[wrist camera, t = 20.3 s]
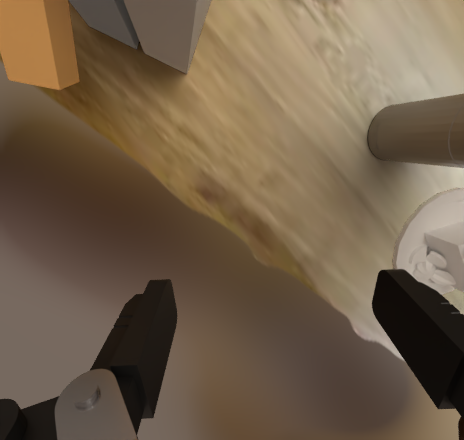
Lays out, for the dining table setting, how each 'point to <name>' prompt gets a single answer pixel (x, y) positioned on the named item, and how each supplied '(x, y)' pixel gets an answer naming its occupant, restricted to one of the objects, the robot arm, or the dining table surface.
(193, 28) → the tall pale grey pillar
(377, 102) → the dining table surface
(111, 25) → the grey box
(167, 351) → the robot arm
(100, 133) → the dining table surface
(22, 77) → the bar
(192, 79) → the dining table surface
